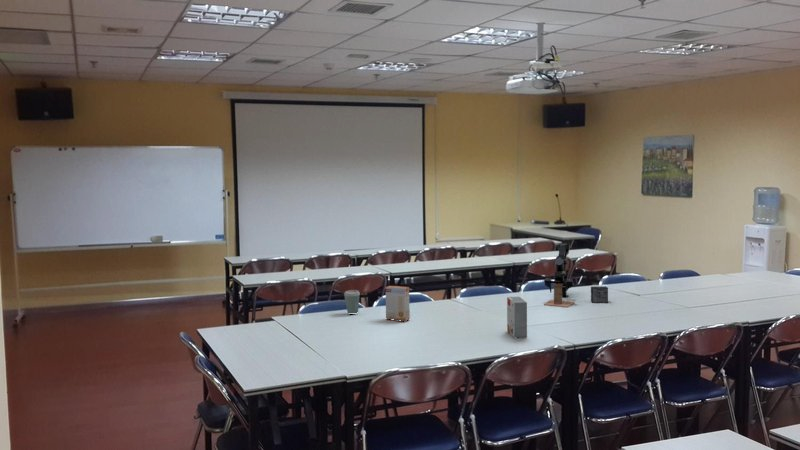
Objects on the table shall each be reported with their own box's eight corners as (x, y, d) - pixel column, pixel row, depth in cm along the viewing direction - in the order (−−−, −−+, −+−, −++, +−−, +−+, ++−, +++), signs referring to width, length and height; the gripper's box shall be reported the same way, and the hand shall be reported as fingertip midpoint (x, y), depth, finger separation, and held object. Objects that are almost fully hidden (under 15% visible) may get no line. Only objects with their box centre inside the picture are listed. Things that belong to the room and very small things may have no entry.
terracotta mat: (551, 300, 450) (551, 299, 450) (574, 303, 441) (574, 301, 441) (544, 305, 436) (544, 303, 436) (567, 307, 428) (567, 306, 428)
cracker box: (410, 320, 400) (409, 286, 398) (405, 322, 394) (404, 288, 393) (390, 318, 407) (390, 285, 405) (385, 320, 402) (385, 286, 400)
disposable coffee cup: (358, 316, 413) (357, 293, 412) (342, 315, 415) (341, 292, 414) (362, 312, 423) (362, 289, 422) (346, 312, 426) (346, 289, 424)
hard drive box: (506, 331, 369) (506, 296, 368) (519, 330, 370) (519, 296, 368) (513, 338, 354) (513, 302, 352) (527, 337, 355) (527, 301, 353)
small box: (606, 301, 446) (606, 286, 445) (608, 303, 440) (608, 287, 439) (590, 301, 447) (590, 286, 447) (592, 303, 441) (592, 287, 440)
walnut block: (554, 302, 439) (554, 283, 438) (562, 302, 438) (562, 283, 436) (553, 304, 435) (553, 284, 433) (561, 304, 433) (561, 285, 432)
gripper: (544, 266, 441) (542, 285, 431) (573, 267, 434) (571, 286, 425) (546, 276, 449) (544, 294, 439) (574, 277, 443) (572, 296, 433)
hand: (557, 292), depth 434 cm, fingers open, 9 cm apart
